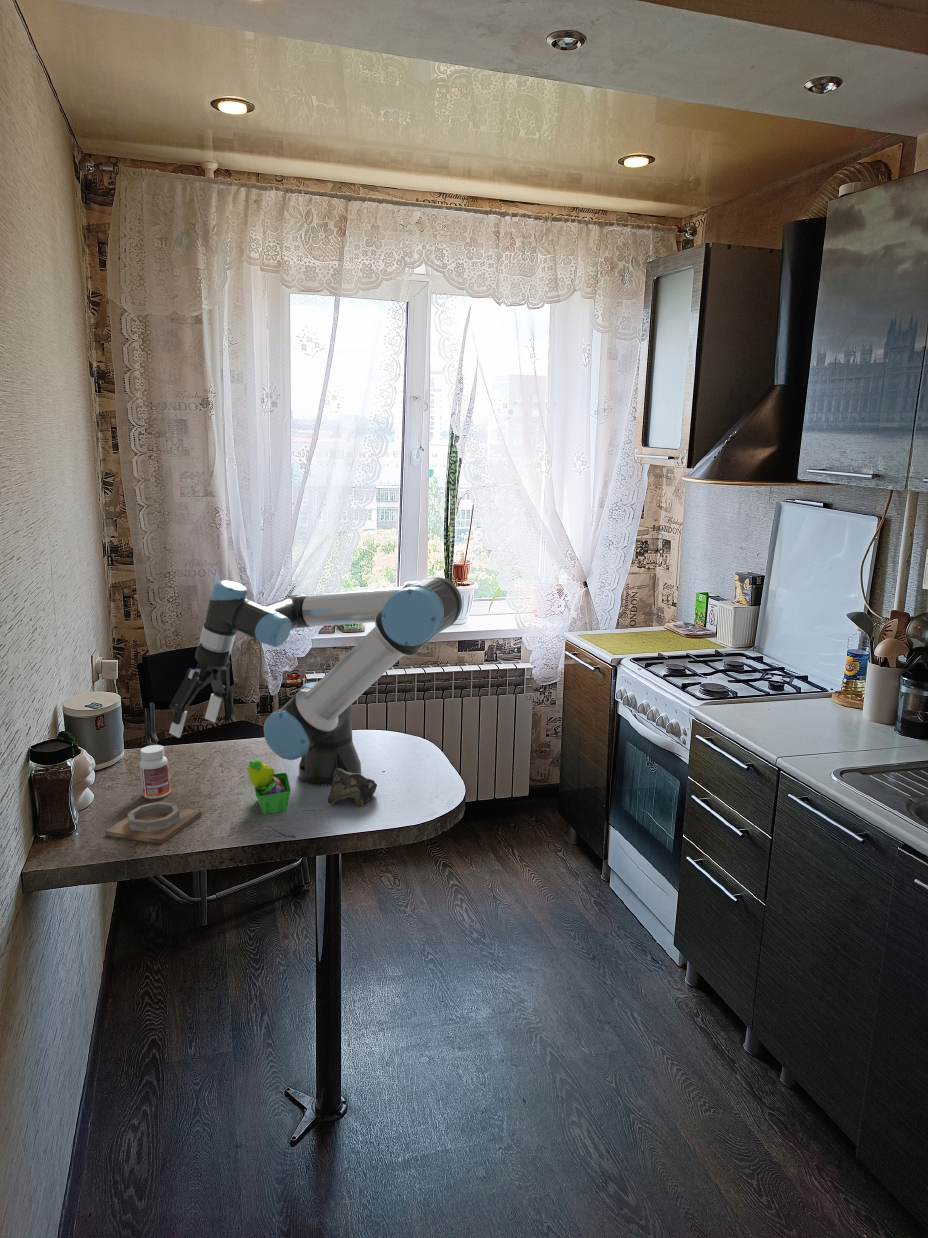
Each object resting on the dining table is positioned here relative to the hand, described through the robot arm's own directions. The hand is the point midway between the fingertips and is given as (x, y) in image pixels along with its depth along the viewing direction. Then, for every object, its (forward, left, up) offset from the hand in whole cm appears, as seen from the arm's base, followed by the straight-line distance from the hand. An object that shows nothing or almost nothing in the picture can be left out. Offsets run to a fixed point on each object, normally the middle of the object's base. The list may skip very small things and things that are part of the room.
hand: (192, 727), depth 203 cm
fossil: (-40, -2, -15) cm, 43 cm away
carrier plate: (-4, +22, -14) cm, 26 cm away
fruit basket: (-23, +6, -15) cm, 28 cm away
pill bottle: (+6, +8, -15) cm, 18 cm away
